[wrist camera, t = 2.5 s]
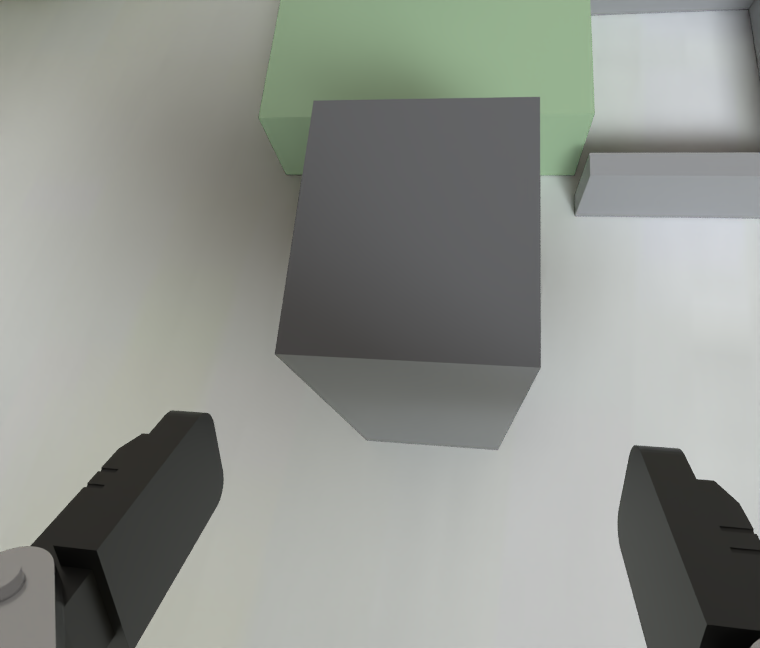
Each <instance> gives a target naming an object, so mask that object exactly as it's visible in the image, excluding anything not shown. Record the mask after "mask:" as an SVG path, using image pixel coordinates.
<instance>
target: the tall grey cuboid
mask: <svg viewBox="0 0 760 648" xmlns="http://www.w3.org/2000/svg"><path fill="white" fill-rule="evenodd" d="M275 355H276V356H277V357H279V358H280V359H281V360H282V361H283V362H284V363H285V364H286V365H287V366H288V367H289V368H290V369H291V370H292V371H293V372H295V373H296V374H297V375H298V376H299V377H300V378H301V379H302V380H303V381H304V382H305V383H306V384H307V385H308V386H309V387H310V388H312V389H313V390H314V391H315V392H316V393H317V394H318V395H319V396H320V397H321V398H322V399H323V400H324V401H325V402H326V403H328V404H329V405H330V406H331V407H332V408H333V409H334V410H335V411H336V412H337V413H338V414H339V415H340V416H341V417H342V418H344V419H345V420H346V421H347V422H348V423H349V424H350V425H351V426H352V427H353V428H354V429H355V430H356V431H357V432H358V433H359V434H361V435H362V436H363V437H364V438H365V439H366V440H367V441H381V442H395V443H409V444H422V445H436V446H450V447H463V448H477V449H491V450H498V448H499V447H500V445H501V443H502V441H503V439H504V437H505V435H506V433H507V431H508V429H509V427H510V425H511V424H512V422H513V420H514V418H515V416H516V414H517V412H518V410H519V408H520V406H521V404H522V402H523V400H524V399H525V397H526V395H527V393H528V391H529V389H530V387H531V385H532V383H533V381H534V379H535V377H536V376H537V374H538V372H539V370H540V368H541V324H540V97H494V98H435V99H376V100H317V101H313V108H312V114H311V121H310V127H309V134H308V140H307V147H306V154H305V160H304V167H303V173H302V180H301V186H300V193H299V199H298V206H297V212H296V219H295V226H294V232H293V239H292V245H291V252H290V258H289V265H288V271H287V278H286V285H285V291H284V298H283V304H282V311H281V317H280V324H279V330H278V337H277V344H276V350H275Z"/></svg>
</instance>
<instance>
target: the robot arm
mask: <svg viewBox="0 0 760 648" xmlns="http://www.w3.org/2000/svg"><path fill="white" fill-rule="evenodd" d="M222 489H223V469H222V464H221V459H220V453H219V448H218V443H217V437H216V432H215V427H214V422H213V419H212V417H211V415H210V414H208V413H200V412H186V411H170V412H168V413H167V414H166V415H165V416H164V417H163V418H162V419H161V421H160V422H159V423H158V424H157V425H156V426H155V428H154V429H153V430H152V431H151V432H150V433H149V434H141V435H140V436H138V437H136V438H135V439H133V440H132V441H130V442H129V443H127V444H125V445H124V446H122V447H121V448H119V449H118V450H117V451H116V452H115V453H114V454H113V456H112V457H111V458H110V459H109V460H108V461H107V462H106V463H105V464H104V465H103V467H102V470H101V472H100V471H98V472H97V473H96V474H95V475H94V476H93V478H92V479H91V480H90V481H89V482H88V485H87V487H84V488H83V489H82V490H81V491H80V492H79V493H78V494H77V495H76V496H75V497H74V499H73V500H72V501H71V502H70V503H69V504H68V505H67V506H66V507H65V508H64V510H63V511H62V512H61V513H60V514H59V515H58V516H57V517H56V518H55V520H54V521H53V522H52V523H51V524H50V525H49V526H48V527H47V528H46V529H45V531H44V532H43V533H42V534H41V535H40V536H39V537H38V538H37V539H36V540H35V542H34V543H33V544H32V545H31V546H25V547H17V548H13V549H9V550H6V551H3V552H0V648H135V647H136V645H137V643H138V641H139V640H140V638H141V636H142V635H143V633H144V631H145V629H146V628H147V626H148V624H149V622H150V621H151V619H152V617H153V616H154V614H155V612H156V610H157V609H158V607H159V605H160V604H161V602H162V600H163V598H164V597H165V595H166V593H167V591H168V590H169V588H170V586H171V585H172V583H173V581H174V579H175V578H176V576H177V574H178V573H179V571H180V569H181V567H182V566H183V564H184V562H185V560H186V559H187V557H188V555H189V554H190V552H191V550H192V548H193V547H194V545H195V543H196V541H197V540H198V538H199V536H200V535H201V533H202V531H203V529H204V528H205V526H206V524H207V523H208V521H209V519H210V517H211V516H212V514H213V512H214V510H215V509H216V507H217V505H218V503H219V501H220V498H221V494H222ZM618 537H619V544H620V548H621V552H622V556H623V560H624V563H625V567H626V571H627V574H628V578H629V582H630V586H631V589H632V593H633V597H634V600H635V604H636V608H637V611H638V615H639V619H640V623H641V626H642V630H643V634H644V637H645V641H646V645H647V648H760V540H759V538H758V536H757V534H754V532H753V527H752V525H751V524H750V522H749V520H748V518H747V516H746V515H745V513H744V511H743V509H742V507H741V506H740V504H739V503H738V502H737V501H736V500H735V499H734V498H733V497H732V496H730V495H729V494H728V493H727V492H726V491H725V490H724V489H723V488H722V487H720V486H719V485H718V484H717V483H716V482H715V481H711V480H698V479H696V477H695V475H694V473H693V471H692V469H691V467H690V465H689V463H688V461H687V459H686V457H685V455H684V453H683V452H682V450H680V449H678V448H664V447H650V446H637V445H635V446H633V447H632V449H631V452H630V455H629V460H628V465H627V470H626V475H625V480H624V485H623V490H622V495H621V500H620V506H619V511H618Z"/></svg>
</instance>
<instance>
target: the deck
mask: <svg viewBox="0 0 760 648" xmlns="http://www.w3.org/2000/svg"><path fill="white" fill-rule="evenodd" d="M741 9H749V12H750V19H751V25H752V32H753V38H754V45H755V51H756V58H757V64H758V70H759V77H760V0H280V5H279V11H278V16H277V21H276V27H275V32H274V37H273V43H272V48H271V53H270V59H269V64H268V69H267V74H266V80H265V85H264V90H263V96H262V101H261V106H260V112H259V117H258V118H259V120H260V122H261V124H262V126H263V128H264V130H265V132H266V134H267V136H268V138H269V140H270V143H271V145H272V147H273V149H274V151H275V153H276V155H277V157H278V159H279V161H280V163H281V165H282V167H283V169H284V171H285V173H286V175H302V173H303V167H304V160H305V154H306V147H307V140H308V134H309V127H310V121H311V114H312V108H313V101H317V100H376V99H435V98H494V97H540V175H574V174H575V171H576V168H577V165H578V162H579V159H580V156H581V153H582V150H583V147H584V144H585V141H586V138H587V135H588V132H589V129H590V126H591V123H592V120H593V117H594V114H595V110H594V84H593V58H592V33H591V15H606V14H633V13H660V12H687V11H714V10H741ZM575 216H617V217H694V218H760V152H720V153H589V156H588V159H587V162H586V165H585V167H584V170H583V173H582V176H581V179H580V182H579V184H578V187H577V190H576V193H575Z"/></svg>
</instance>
